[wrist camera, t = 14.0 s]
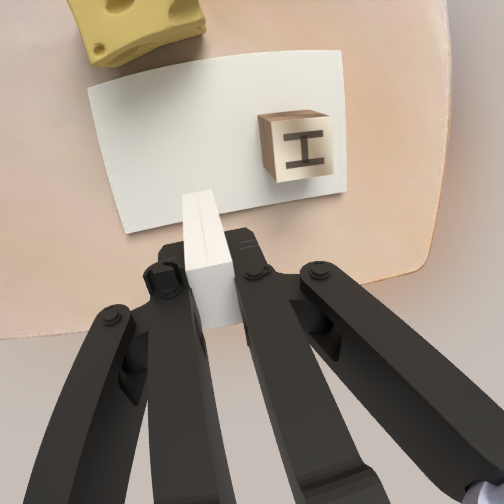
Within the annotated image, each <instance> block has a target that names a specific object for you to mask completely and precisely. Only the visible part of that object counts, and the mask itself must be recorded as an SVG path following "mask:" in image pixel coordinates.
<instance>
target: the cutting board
mask: <svg viewBox="0 0 504 504" xmlns="http://www.w3.org/2000/svg"><path fill="white" fill-rule="evenodd" d="M87 91H88V96H89V101H90V106H91V110H92V115H93V120H94V124H95V128H96V133H97V137H98V141H99V145H100V149H101V153H102V157H103V161H104V164H105V168H106V172H107V175H108V179H109V182H110V186H111V189H112V193H113V196H114V199H115V203H116V206H117V209H118V212H119V215H120V218H121V222H122V225H123V228H124V231H125V234H128V233H133V232H137V231H142V230H146V229H150V228H155V227H160V226H164V225H169V224H173V223H178V222H183V213H182V195H185V194H189V193H194V192H199V191H204V190H209V189H212V192H213V196H214V199H215V203H216V206H217V210H218V213H219V214H222V213H227V212H232V211H238V210H243V209H248V208H253V207H259V206H264V205H270V204H275V203H281V202H287V201H292V200H298V199H304V198H310V197H316V196H322V195H328V194H334V193H341V192H346V119H345V97H344V81H343V67H342V55H341V50H293V51H273V52H259V53H248V54H239V55H230V56H222V57H215V58H208V59H202V60H196V61H190V62H185V63H180V64H175V65H170V66H165V67H160V68H156V69H152V70H148V71H144V72H140V73H136V74H132V75H128V76H125V77H121V78H118V79H114V80H111V81H107V82H104V83H101V84H98V85H95V86H92V87H89V88H87ZM309 109H310V110H313V111H316V112H319V113H322V114H325V115H328V116H331V117H332V132H333V165H334V174H332V175H325V176H318V177H311V178H304V179H298V180H291V181H285V182H279V183H277V182H276V181H275V180H274V178H273V177H272V176H271V175H270V174H269V172H268V171H267V170H266V169H265V167H264V166H263V160H262V150H261V141H260V132H259V124H258V115H260V114H268V113H277V112H286V111H297V110H309Z"/></svg>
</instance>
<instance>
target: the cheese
mask: <svg viewBox="0 0 504 504" xmlns="http://www.w3.org/2000/svg"><path fill="white" fill-rule="evenodd" d="M67 2H68V4H69V6H70V9H71V11H72V13H73V16H74V18H75V21H76V23H77V26H78V28H79V31H80V34H81V37H82V40H83V43H84V46H85V49H86V52H87V55H88V58H89V61H90V63H91V65H93V66H97V67H105V68H117V67H120V66H122V65H124V64H126V63H128V62H130V61H132V60H134V59H136V58H138V57H140V56H142V55H144V54H146V53H149V52H150V51H152V50H154V49H155V48H157V47H159V46H162V45H165V44H169V43H174V42H177V41H180V40H183V39H186V38H190V37H194V36H197V35H201V34H204V33H205V32H206V27H205V22H206V21H205V17H204V14H203V12H202V9H201V7H200V4H199V1H198V0H67Z"/></svg>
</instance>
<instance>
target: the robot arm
mask: <svg viewBox="0 0 504 504" xmlns="http://www.w3.org/2000/svg"><path fill="white" fill-rule="evenodd" d="M182 213H183V237H184V241H181V242H176V243H172V244H167V245H164V246H163V247H162V248H161V250H160V251H159V253H158V262H156V263H154V264H153V265H151V266H149V267H148V268H147V269H146V270H145V272H144V274H143V278H144V281H145V283H146V286H147V289H148V291H149V294H150V301H148V302H147V303H146V304H144V305H142V306H141V307H138V308H136V309H134V310H132V311H130V310H129V308H128V307H127V306H125V305H122V304H116V305H111V306H109V307H106V308H104V309H103V310H102V311H101V312H99V314H98V315H97V316H96V318H95V320H94V322H93V324H92V326H91V328H90V330H89V332H88V334H87V336H86V338H85V340H84V342H83V344H82V346H81V348H80V350H79V353H78V355H77V357H76V359H75V361H74V363H73V366H72V368H71V370H70V372H69V375H68V377H67V379H66V382H65V384H64V386H63V389H62V391H61V393H60V396H59V398H58V401H57V403H56V406H55V408H54V411H53V413H52V416H51V418H50V421H49V424H48V426H47V429H46V432H45V434H44V437H43V440H42V443H41V446H40V449H39V452H38V455H37V458H36V461H35V464H34V467H33V470H32V473H31V477H30V480H29V483H28V487H27V490H26V494H25V498H24V501H23V504H124V503H125V498H126V492H127V487H128V482H129V477H130V473H131V468H132V463H133V459H134V454H135V450H136V445H137V441H138V437H139V432H140V428H141V424H142V420H143V415H144V411H145V407H146V403H147V400H148V426H149V448H150V464H151V475H152V488H153V498H154V504H237V503H236V500H235V495H234V491H233V486H232V482H231V477H230V473H229V468H228V464H227V459H226V454H225V450H224V444H223V439H222V435H221V429H220V424H219V419H218V413H217V408H216V402H215V397H214V392H213V385H212V379H211V374H210V367H209V361H208V355H207V348H206V342H205V338H204V335H203V332H202V329H203V331H205V330H209V329H214V328H219V327H224V326H228V325H233V324H238V323H242V322H243V324H244V329H245V334H246V340H247V345H248V346H249V348H250V352H251V355H252V359H253V362H254V366H255V370H256V373H257V377H258V380H259V384H260V387H261V391H262V394H263V397H264V401H265V404H266V408H267V411H268V415H269V418H270V422H271V425H272V428H273V432H274V435H275V438H276V442H277V445H278V448H279V451H280V455H281V458H282V461H283V464H284V468H285V471H286V474H287V478H288V481H289V484H290V487H291V490H292V493H293V496H294V500H295V502H296V504H391V503H390V501H389V499H388V497H387V494H386V492H385V490H384V488H383V485H382V483H381V481H380V479H379V477H378V476H377V474H376V473H375V471H374V470H373V469H372V468H371V467H369V466H367V465H366V464H365V463H364V462H363V461H362V459H361V457H360V455H359V453H358V451H357V449H356V446H355V444H354V442H353V440H352V437H351V435H350V433H349V431H348V428H347V426H346V424H345V422H344V419H343V417H342V415H341V413H340V411H339V408H338V406H337V404H336V402H335V399H334V398H333V395H332V393H331V391H330V389H329V386H328V384H327V382H326V380H325V377H324V375H323V373H322V371H321V369H320V366H319V364H318V362H317V360H316V358H315V355H314V353H313V351H312V349H311V347H310V345H311V346H312V347H313V348H314V350H315V351H316V352H317V353H318V354H319V355H320V356H321V358H322V359H323V360H324V361H325V362H326V363H327V365H328V366H329V367H330V368H331V369H332V370H333V372H334V373H336V375H337V376H338V377H339V378H340V380H341V381H342V382H343V383H344V384H345V385H346V386H347V388H348V389H349V390H350V391H351V392H352V393H353V394H354V396H355V397H356V398H357V399H358V400H359V401H360V402H361V403H362V405H363V406H364V407H365V408H366V409H367V410H368V411H369V412H370V414H371V415H372V416H373V417H374V418H375V419H376V421H378V423H379V424H380V425H381V426H382V427H383V428H384V429H385V431H386V432H387V433H388V434H389V435H390V436H391V437H392V438H393V439H394V441H395V442H396V443H397V444H398V445H399V446H400V447H401V449H402V450H403V451H404V452H405V453H406V454H407V455H408V456H409V457H410V459H411V460H412V461H413V462H414V463H415V464H416V465H417V466H418V467H419V468H420V470H421V471H422V472H423V473H424V474H425V475H426V476H427V477H428V478H429V479H430V480H431V481H432V482H433V483H434V484H435V485H436V486H437V487H438V488H439V489H440V490H441V491H442V492H444V493H445V494H447V495H448V496H449V497H451V498H452V499H454V500H456V501H458V502H460V503H461V504H504V410H503V409H502V408H500V407H499V406H498V405H497V404H496V403H495V402H494V401H493V400H492V399H491V398H490V397H489V396H488V395H487V394H485V393H484V392H483V391H482V390H481V389H480V388H479V387H478V386H477V385H476V384H474V383H473V382H472V381H471V380H470V379H469V378H468V377H467V376H466V375H465V374H464V373H462V372H461V371H460V370H459V369H458V368H457V367H456V366H454V364H452V363H451V362H450V361H449V360H448V359H447V358H446V357H444V356H443V355H442V354H441V353H440V352H439V351H438V350H437V349H435V348H434V347H433V346H432V345H431V344H430V343H428V342H427V341H426V340H425V339H424V338H423V337H422V336H420V335H419V334H418V333H417V332H416V331H414V330H413V329H412V328H411V327H410V326H409V325H407V324H406V323H405V322H404V321H403V320H402V319H400V318H399V317H398V316H397V315H396V314H394V313H393V312H392V311H391V310H389V309H388V308H387V307H386V306H385V305H384V304H382V303H381V302H380V301H379V300H378V299H376V298H375V297H373V295H372V294H370V293H369V292H368V291H367V290H365V289H364V288H363V287H362V286H361V285H359V284H358V283H357V282H356V281H354V280H353V279H352V278H351V277H349V276H348V275H347V274H346V273H344V272H343V271H342V270H341V269H339V268H338V267H337V266H335V265H334V264H332V263H330V262H325V261H314V262H310V263H308V264H306V265H304V266H303V267H302V268H301V270H300V274H283V273H278V272H276V271H275V269H274V268H273V267H272V266H271V265H269V264H267V262H266V260H265V257H264V255H263V253H262V251H261V249H260V246H259V245H258V242H257V240H256V238H255V236H254V233H253V232H252V231H250V230H249V229H247V228H246V227H245V228H240V229H235V230H230V231H225V232H224V231H223V227H222V224H221V220H220V217H219V213H218V210H217V206H216V203H215V199H214V196H213V192H212V189H209V190H204V191H199V192H194V193H189V194H185V195H182Z"/></svg>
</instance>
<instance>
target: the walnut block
mask: <svg viewBox="0 0 504 504" xmlns="http://www.w3.org/2000/svg"><path fill="white" fill-rule="evenodd" d="M258 124H259V132H260V141H261V150H262V160H263V166H264V167H265V169H266V170H267V171H268V172H269V174H270V175H271V176H272V177H273V178H274V180H275V181H276V182H277V183H279V182H285V181H291V180H298V179H304V178H311V177H318V176H325V175H332V174H334V165H333V132H332V117H331V116H328V115H325V114H322V113H319V112H316V111H313V110H310V109H309V110H297V111H286V112H277V113H268V114H260V115H258Z"/></svg>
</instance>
